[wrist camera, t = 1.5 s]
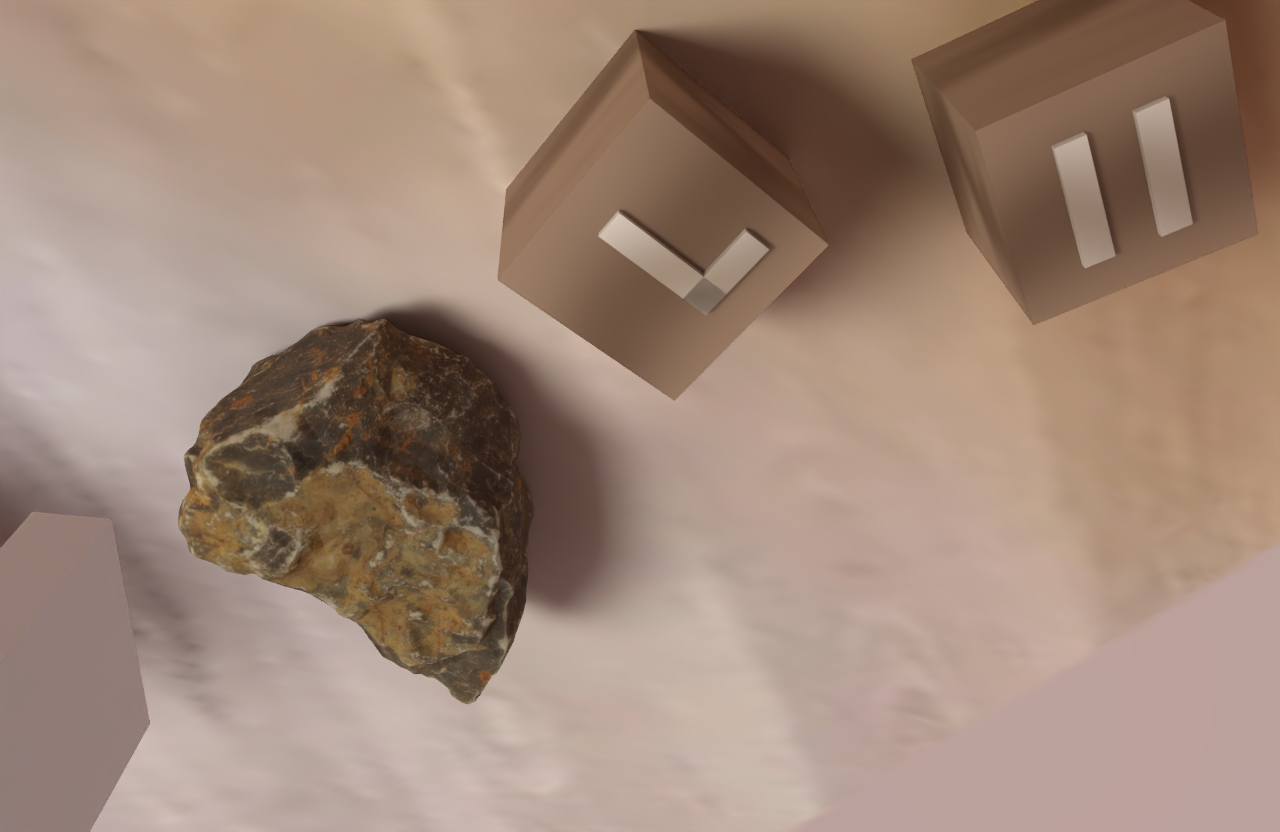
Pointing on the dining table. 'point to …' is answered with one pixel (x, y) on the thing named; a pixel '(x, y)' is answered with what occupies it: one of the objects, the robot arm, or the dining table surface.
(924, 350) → the dining table surface
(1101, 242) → the marked block
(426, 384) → the rock
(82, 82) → the dining table surface
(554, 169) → the marked block
